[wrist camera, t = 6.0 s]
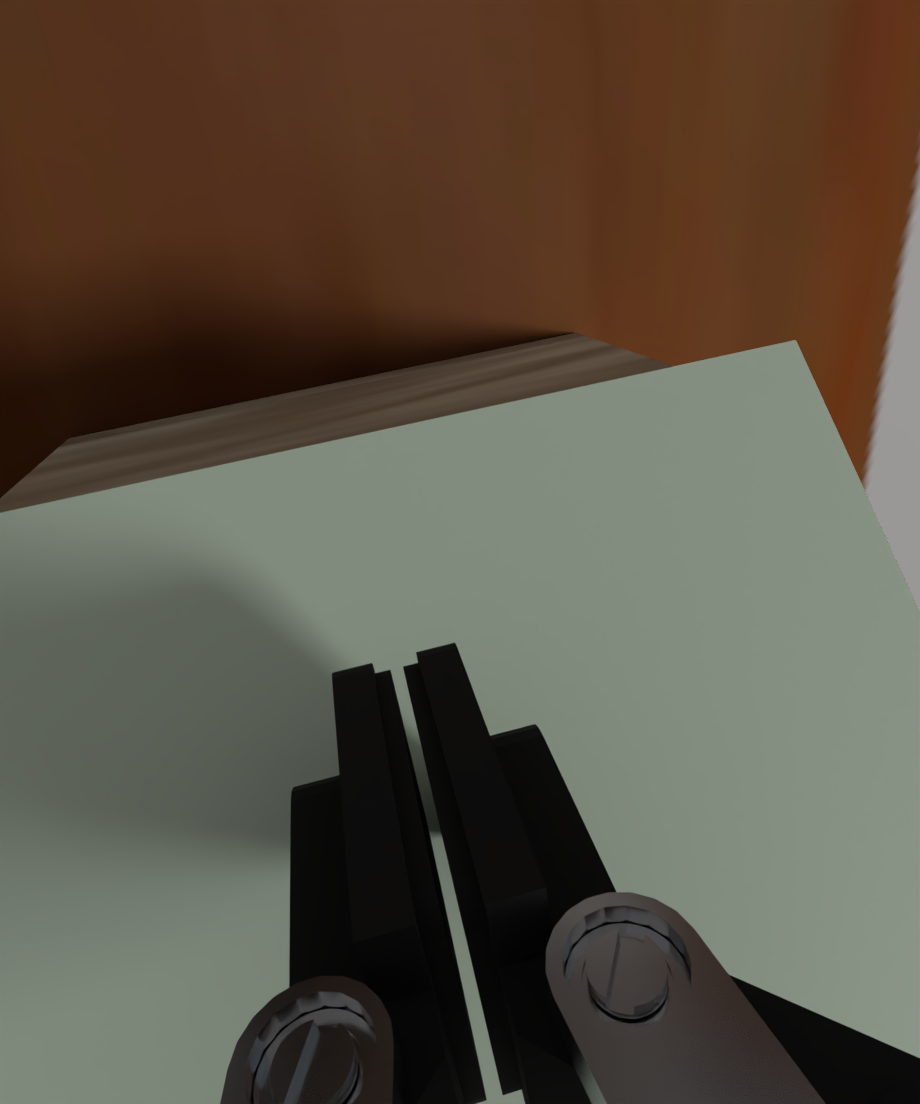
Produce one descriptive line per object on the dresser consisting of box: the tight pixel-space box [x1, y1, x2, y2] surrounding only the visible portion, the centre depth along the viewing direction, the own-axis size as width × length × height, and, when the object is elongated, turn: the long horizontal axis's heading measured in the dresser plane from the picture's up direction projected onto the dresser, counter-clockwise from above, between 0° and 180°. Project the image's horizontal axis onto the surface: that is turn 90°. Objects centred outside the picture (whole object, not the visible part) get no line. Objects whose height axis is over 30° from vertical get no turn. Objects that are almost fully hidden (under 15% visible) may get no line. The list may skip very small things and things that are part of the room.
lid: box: [0, 340, 920, 1104], centre depth 11 cm, size 20×17×3 cm
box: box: [0, 333, 674, 513], centre depth 22 cm, size 18×16×10 cm
